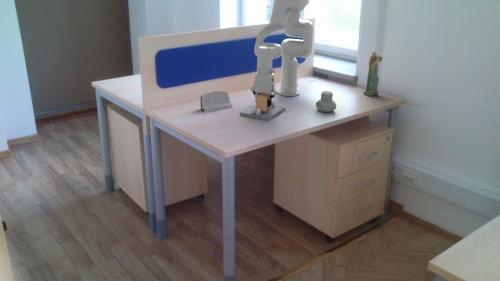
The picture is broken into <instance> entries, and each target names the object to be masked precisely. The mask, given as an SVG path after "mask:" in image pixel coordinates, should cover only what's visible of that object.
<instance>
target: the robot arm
mask: <svg viewBox="0 0 500 281" xmlns="http://www.w3.org/2000/svg"><path fill="white" fill-rule="evenodd" d="M309 3H310V0H274V3H273V5H272V6H273V8H272V10H271V15H270V19H269V22H268V23H267V24H266V25H264V27H263V28H261V30H260V31H259V32H258V34H257V37H256V40H255V44H254V47H253V48H254V49H253V52H254V54H255V56H256V57H257V58H256V59H257V60H256V61H257V63H256V72H255V74H254V79H253V80H254V82H253V86H251V87H250V88H249V89H250V91H251V93H252V95H254V98H256V97H257V96H258V94H259V93H264V94H267V96H268V100H267V107H270V106H271V104H272V100H273V98H275V97H276V96H277V95H280V96H284V97H295V96H298V95H300V91H299V90H298V87H299V84H298V76H299V61H298V60H297V58H303V59H305V58H307V59H308V58H310V57H311V55H312V51H313V37H314V26H313V25H314V24H313V23H312V22H311V21H310V20H303V19H301V12H302V11H303V10H304V9H305V8H306V7H307V6H308V5H309ZM281 30H284V34H285V36H287V37H290V38H286V39H284V40H282V42H281V44H279V43H273V42H264V41H265V39H266V38H267V37H268V36H269V35H271V34H273V33H274V34H275V33H276V32H278V31H281ZM291 37H292V38H291ZM296 38H298V39H296ZM299 38H301V39H299ZM279 58H281V71H280V75H281V76H280V89H278V90H276V87H275V86H276V85H275V76H274V74H275V69H273V60H278V59H279ZM272 93H273V94H272Z"/></svg>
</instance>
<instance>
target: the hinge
mask: <svg viewBox="0 0 500 281" xmlns="http://www.w3.org/2000/svg"><path fill="white" fill-rule="evenodd" d="M199 99H200V101H199V103H200V110H204V112H205V113H207V112H212V111H218V110H224V109H230V108H233V104H232V103H231V100H230V97H229V92H227V91H225V90H224V91H223V90H212V91H208V92H206V93H203V94H202V95H200V97H199Z"/></svg>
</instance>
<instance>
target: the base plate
mask: <svg viewBox="0 0 500 281" xmlns="http://www.w3.org/2000/svg"><path fill="white" fill-rule="evenodd" d="M275 103H276V101H275V100H274V99H272V104H271V106H270V107H268V109H267V110H266V111H261V109H260V108H257V111H256V103H254V104H252V105H251V106H249V107H247V108H245V109H243V110H242V111H240V112H239V116H241V117H248V118H253V119H256V120H262V121H265V122H268V121H270V120H272V119H274V118H275V117H276V116H278V115H280V114H281V113H282V112H284V111H286V106H280V105H275Z"/></svg>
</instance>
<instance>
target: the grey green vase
mask: <svg viewBox="0 0 500 281" xmlns="http://www.w3.org/2000/svg"><path fill="white" fill-rule="evenodd" d="M333 95H334V94H333V92H332V91H329V90H323V91H321V94H320V99H318V100H316V102H315V107H316V109H317V110H318V111H319V112H321V113H331V112H333V111H335V110H336V109H337V103H336V102H335V101H334V100H333V98H334V97H333Z"/></svg>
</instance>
